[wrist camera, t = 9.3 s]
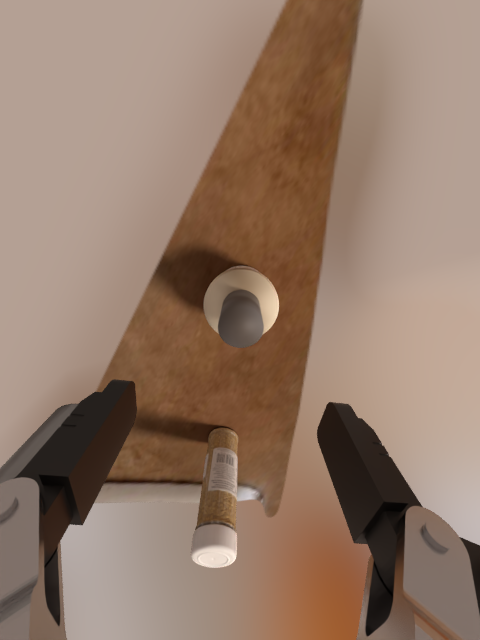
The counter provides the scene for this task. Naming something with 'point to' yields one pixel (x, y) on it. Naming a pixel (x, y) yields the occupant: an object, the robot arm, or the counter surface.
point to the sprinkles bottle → (217, 503)
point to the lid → (241, 306)
